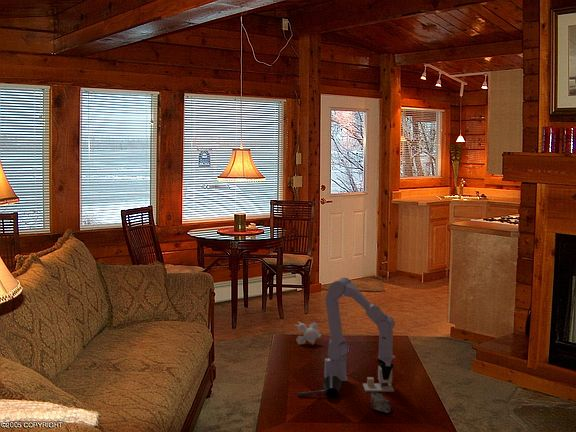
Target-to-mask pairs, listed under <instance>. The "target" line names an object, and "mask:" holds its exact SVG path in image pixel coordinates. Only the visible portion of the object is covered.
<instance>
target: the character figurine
mask: <svg viewBox="0 0 576 432" xmlns="http://www.w3.org/2000/svg"><path fill="white" fill-rule="evenodd" d="M297 322H298V324H294V326H295V327H297V329H298V331H300V332H301V333H303V335H297V337H296V340H295V341H296V342H297V344H298V345H304V344H306V342H308V343H309V344H311V346H313V345H315V343H316V339H320V338H321V337H322V334H321V333H320V332H319V331H318V330H319V323H317V322H314V321H313V322H310V324H308V326H309V327H307V325H306V324H305V323H303V322H300V321H297Z"/></svg>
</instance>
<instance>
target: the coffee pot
mask: <svg viewBox="0 0 576 432" xmlns="http://www.w3.org/2000/svg"><path fill="white" fill-rule="evenodd" d="M322 384H323V388H324V389H322V390H321V389H319V390H315V391H306V392H305V391H303V392H298V393H297V395H296V396H297V397H298V398H303V397H306V396H308V397H309V396H312V395H318V394H319V395H320V394H323V393H325V395H326V398H328V399H330V400H331V399H336V398H338V396H339V391H340V389H341V388H342V381H341V380H340V379H339V378H338V377H336V376H328V377H326V378H325V377H324V380H323V382H322Z"/></svg>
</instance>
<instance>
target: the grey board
mask: <svg viewBox="0 0 576 432" xmlns="http://www.w3.org/2000/svg"><path fill="white" fill-rule="evenodd" d="M362 388H363V389H364V392H366V393H367V392H371V393H372V392H376V393H378V392H379V393H381V392H390V393H391V392H395V388H394V387H393V385H392V383H388V386H382V385H381V383H380V382H378V383H377V382H376V383H375V379H374V377H373V376H372V377H371V376H367V377H366V382H365V383H363V382H362Z"/></svg>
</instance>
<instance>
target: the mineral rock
mask: <svg viewBox="0 0 576 432" xmlns="http://www.w3.org/2000/svg"><path fill="white" fill-rule="evenodd" d="M370 408H371V409H372V410H375V411H379V412H382V413H385V414H387V413H388V414H389V413H390V412H391V411H392V410H391V409H392V403H391V402H390V400H388V399H387V397H385V396H384V395H383V394H382V393H380V392H379V393H378V392H371V393H370Z"/></svg>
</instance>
